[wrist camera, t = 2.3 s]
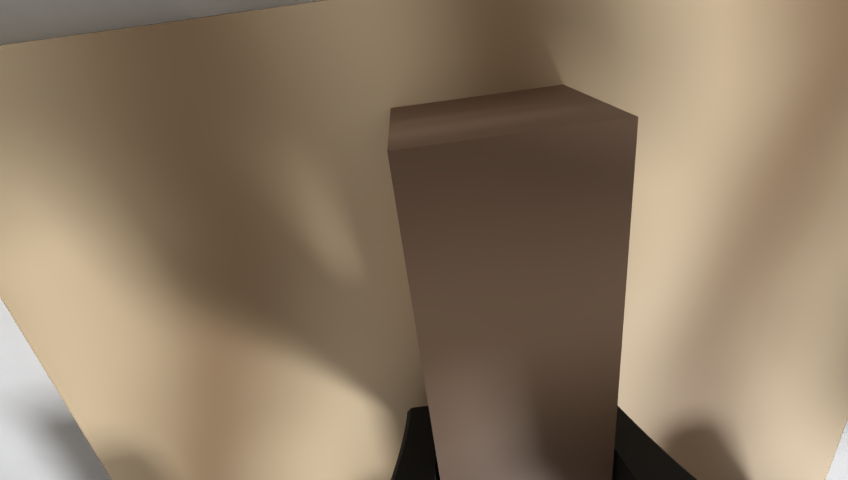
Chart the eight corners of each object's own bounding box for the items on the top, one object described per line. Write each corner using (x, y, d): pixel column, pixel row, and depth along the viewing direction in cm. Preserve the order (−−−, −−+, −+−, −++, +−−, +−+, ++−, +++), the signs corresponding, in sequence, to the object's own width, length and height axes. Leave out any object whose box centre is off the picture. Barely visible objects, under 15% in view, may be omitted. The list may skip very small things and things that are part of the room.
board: (984, -90, 9) (1035, -98, 8) (760, 596, 19) (774, 618, 18) (-99, 60, 9) (-141, 65, 8) (243, 660, 19) (237, 686, 18)
